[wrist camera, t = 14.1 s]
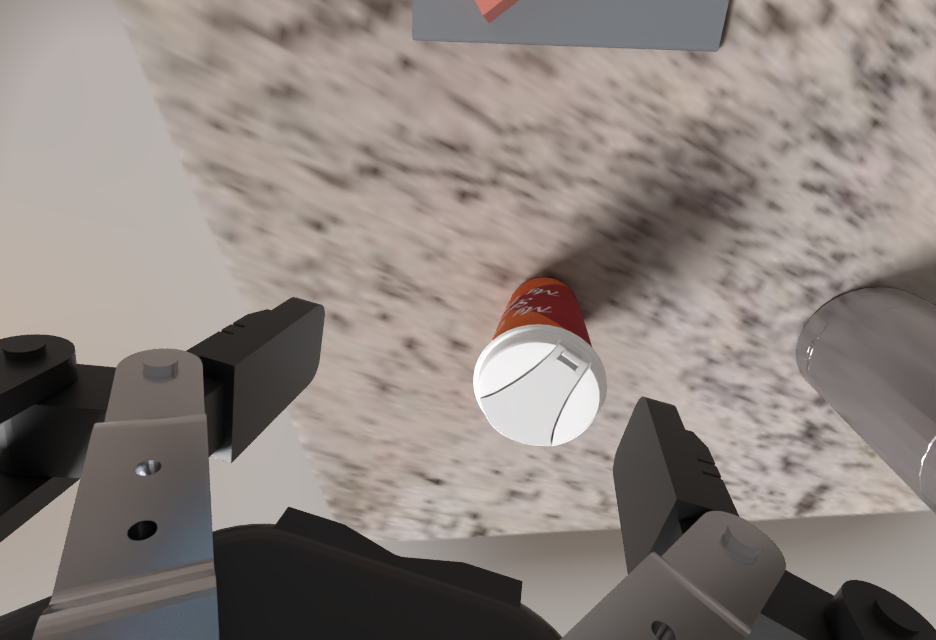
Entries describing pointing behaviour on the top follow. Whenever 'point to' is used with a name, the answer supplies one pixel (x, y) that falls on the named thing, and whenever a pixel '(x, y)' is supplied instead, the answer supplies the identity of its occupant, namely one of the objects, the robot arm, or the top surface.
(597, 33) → the mat
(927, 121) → the top surface
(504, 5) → the card deck
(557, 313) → the paper cup
